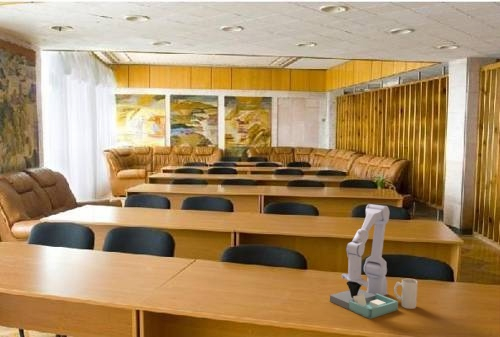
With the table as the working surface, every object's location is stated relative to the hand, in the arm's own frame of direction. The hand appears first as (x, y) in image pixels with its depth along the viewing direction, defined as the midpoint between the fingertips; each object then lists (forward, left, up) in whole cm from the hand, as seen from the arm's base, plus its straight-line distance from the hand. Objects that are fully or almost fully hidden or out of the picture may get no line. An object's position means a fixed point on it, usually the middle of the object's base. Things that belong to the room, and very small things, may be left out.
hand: (354, 297), depth 216 cm
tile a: (-7, +8, -1) cm, 11 cm away
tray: (-4, +8, -4) cm, 10 cm away
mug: (-20, +13, -4) cm, 24 cm away
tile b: (0, +3, -1) cm, 3 cm away
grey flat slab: (-4, -4, -4) cm, 6 cm away
